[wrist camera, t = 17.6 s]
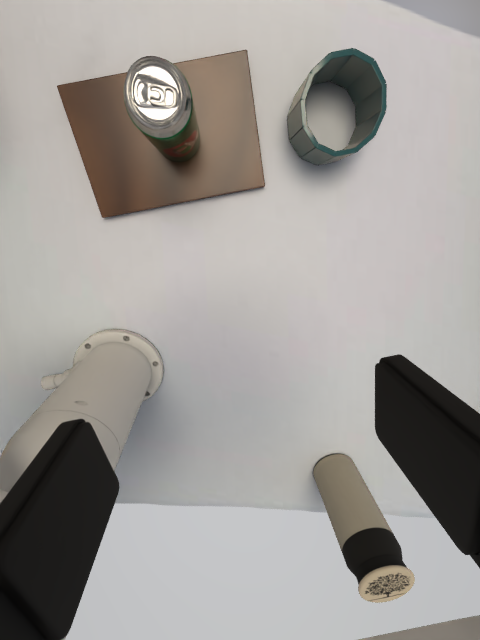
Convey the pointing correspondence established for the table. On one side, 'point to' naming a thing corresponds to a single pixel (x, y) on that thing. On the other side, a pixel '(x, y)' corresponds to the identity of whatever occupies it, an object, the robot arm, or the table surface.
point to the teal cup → (364, 91)
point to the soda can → (162, 107)
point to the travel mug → (362, 531)
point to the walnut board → (146, 161)
